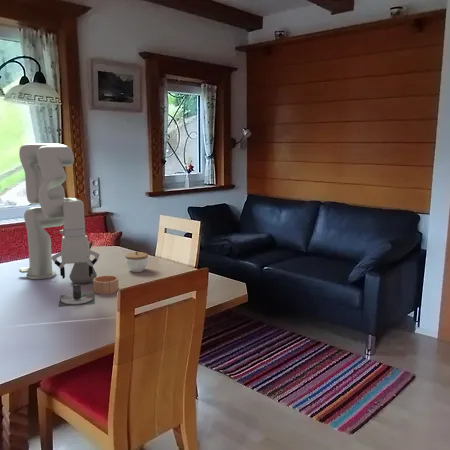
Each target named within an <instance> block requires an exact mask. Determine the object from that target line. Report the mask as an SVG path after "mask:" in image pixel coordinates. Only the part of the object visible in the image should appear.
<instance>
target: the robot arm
mask: <svg viewBox="0 0 450 450" xmlns="http://www.w3.org/2000/svg"><path fill="white" fill-rule="evenodd" d="M18 156H19V161H20V163H21V166H22V168H23V170H24V175H25V178H24V179H25V191H26V192H25V195H26V200H27V201H28V202H29V204H32V205H39V206H34V207H29V208H27V209H26V210H25V212H24V214H23V218H24V223H25V227H26V235H27V246H28V259H29V260H28V261H29V265H28V266H27V267H19V268H18V269H19V271H18V272H19V273H21V274H25V273H26V275H25V276H26V278H27V279H31V280H45V279H51V278H53V277H55V276H56V275H57V272H56V271H55V270H54V269H53V263H54V265H56V266H57V267H58V269H59V272H60V273H59V274H60V277H62V279H66V269H65V265H67V264H68V265H70V264H71V265H72V264H74V263H86V262H87V263H88V264H89V276H90V277H91V274H93V268H94V265H95V264H96V263H97V262H98V261H99V257H100V253H98V252H96V251H94V250H91V249H90V250H89V245H90V242H89V238H88V235H86V224H85V222H86V221H85V206H84V201H82V200H81V199H79V198H76V197H66V193H65V189H64V187H63V184H64V183H65V181H66V179H67V173H66V171H65V169H64V167H71V166H72V165H73V164H74V162H75V156H74V153H73V151H72V149H71V147H69V146H68V145H65V144H61V143H41V142H39V143H38V142H36V143H35V142H33V143H31V142H30V143H25V144H23V145H21V146H20V148H19V155H18ZM62 226H63V229H60V230H59V234H60V235H64V236H62V237H61V245H60V247H61V250H60V251H59V252H57V253H56V254H54V255H52V240H51V239H52V238H51V236H50V234H49V232H47V231H46V230H45V229H46V228H54V227H56V228H57V227H62ZM91 255H92V256H94V258H93V259H92V260H91ZM60 257H61V262H60V261H59V260H58V258H60Z"/></svg>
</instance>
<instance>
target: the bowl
mask: <svg viewBox="0 0 450 450" xmlns="http://www.w3.org/2000/svg"><path fill="white" fill-rule="evenodd" d="M92 284H93V285H92V286H93V287H92V288H93V293H96V294H101V295H102V294H103V295H104V294H105V295H106V294H112V293H116V292H118V291H119V290H120V289H119V277H118V276H116V275H109V274H107V275H99V276H96V278H94V279H93V282H92Z"/></svg>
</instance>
